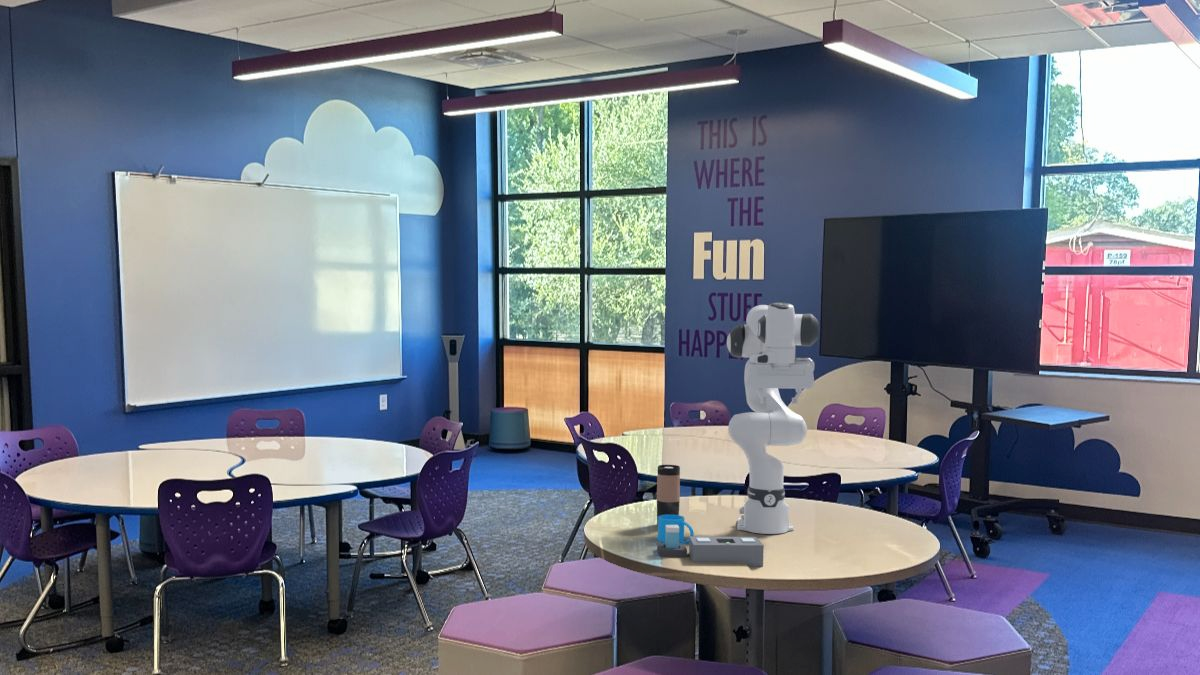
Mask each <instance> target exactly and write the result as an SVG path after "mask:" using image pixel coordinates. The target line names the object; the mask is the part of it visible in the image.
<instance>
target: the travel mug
mask: <svg viewBox="0 0 1200 675" xmlns="http://www.w3.org/2000/svg"><path fill="white" fill-rule="evenodd" d="M680 479H681V466H679V465H677V464H659V465H658V466H657V478H656V482H657V483H656V485H657V486H656V525H657V527H658V516H660V515H680V498H681V496H680V495H681V494H680V492H681V490H680V487H681V484H680V483H681V480H680Z"/></svg>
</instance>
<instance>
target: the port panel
mask: <svg viewBox="0 0 1200 675" xmlns="http://www.w3.org/2000/svg"><path fill="white" fill-rule="evenodd" d="M688 539H689V542H688V554H689V557H690V559H691V561H692V563H698V564H699V563H702V564H703V563H705V564H709V563H711V564H712V563H713V564H714V563H717V564H718V563H719V564H721V563H724V564H726V563H728V564H729V563H730V564H735V563H736V564H737V563H738V564H746V565H747V567H764V544H763V543H762V541H760V539H759V538H758V536H693V537H692V536H690V535H689V537H688Z"/></svg>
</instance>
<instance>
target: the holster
mask: <svg viewBox="0 0 1200 675" xmlns="http://www.w3.org/2000/svg"><path fill="white" fill-rule="evenodd" d="M656 551H657V553H658V556H659V558H688V549H687V547H686V543H682V542H681V543H679V548H665V543H664V542H657V543H656Z"/></svg>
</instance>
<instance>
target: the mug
mask: <svg viewBox="0 0 1200 675" xmlns="http://www.w3.org/2000/svg"><path fill="white" fill-rule="evenodd" d="M666 525H678V526H679V543H684V544H689V538H688V539H687V540H685V526H686V527H687V529H688V530H689V532H690V533H689V536H692V537H694V529H693V527H692V525H690V524H689V523H687V522H686V521H685V517H684V516H683V515H680V514H679V515H660V516H658V526H657V541H658V542H659V543H665V532H666Z"/></svg>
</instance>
